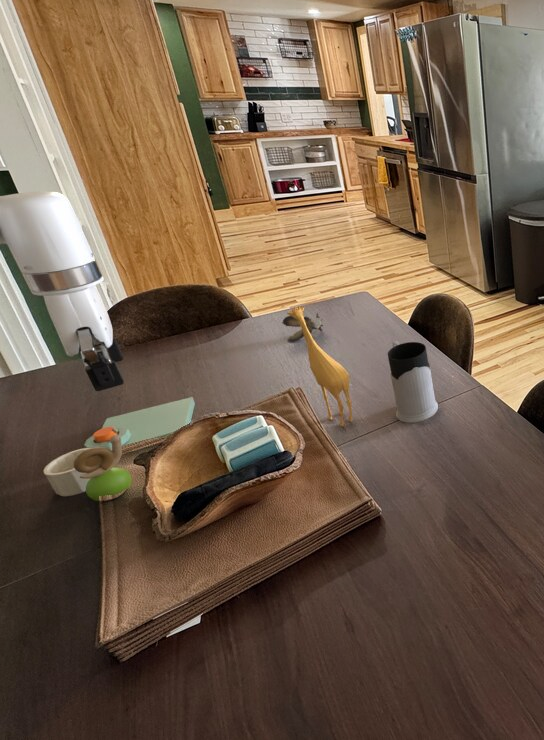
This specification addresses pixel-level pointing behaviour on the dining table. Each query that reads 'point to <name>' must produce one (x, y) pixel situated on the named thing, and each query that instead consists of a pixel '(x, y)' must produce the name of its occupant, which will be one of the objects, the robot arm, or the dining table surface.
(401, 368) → the glass holder
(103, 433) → the button
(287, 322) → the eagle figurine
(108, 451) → the snail figurine
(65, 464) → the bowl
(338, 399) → the giraffe
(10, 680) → the dining table surface
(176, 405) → the scale
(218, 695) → the dining table surface
